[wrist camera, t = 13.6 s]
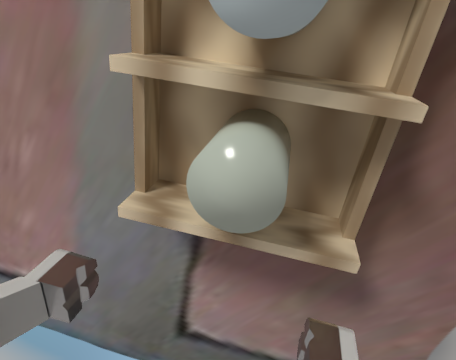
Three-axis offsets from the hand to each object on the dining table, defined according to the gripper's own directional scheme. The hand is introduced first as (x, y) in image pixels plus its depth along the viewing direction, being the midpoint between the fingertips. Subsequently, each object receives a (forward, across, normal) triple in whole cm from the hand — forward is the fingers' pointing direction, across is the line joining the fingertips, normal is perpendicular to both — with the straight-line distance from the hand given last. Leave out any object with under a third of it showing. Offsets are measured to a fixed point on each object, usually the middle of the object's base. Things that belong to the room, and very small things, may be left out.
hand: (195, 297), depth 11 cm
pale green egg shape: (+18, 0, 0) cm, 18 cm away
